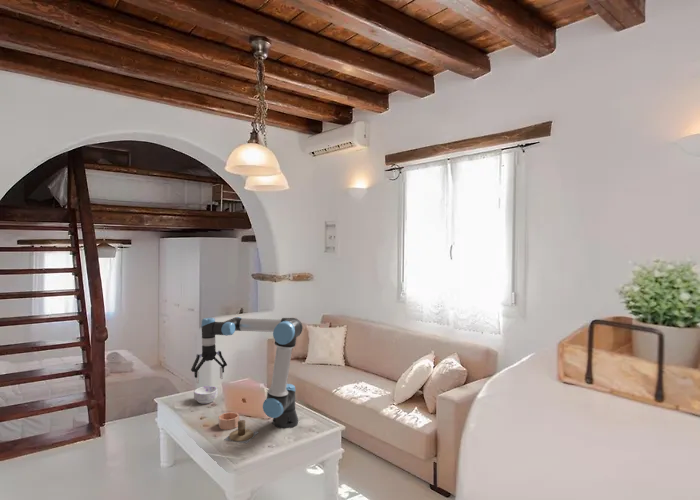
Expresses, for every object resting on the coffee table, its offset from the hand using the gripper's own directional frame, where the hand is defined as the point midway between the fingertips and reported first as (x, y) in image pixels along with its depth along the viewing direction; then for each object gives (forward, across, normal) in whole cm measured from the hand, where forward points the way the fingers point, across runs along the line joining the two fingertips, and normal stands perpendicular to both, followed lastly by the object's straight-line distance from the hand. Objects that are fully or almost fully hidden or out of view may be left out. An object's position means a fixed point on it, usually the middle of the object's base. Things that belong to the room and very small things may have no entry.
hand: (209, 380), depth 252 cm
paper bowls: (+26, -8, -40) cm, 48 cm away
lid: (+26, -10, +24) cm, 37 cm away
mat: (+27, -10, +24) cm, 38 cm away
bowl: (+27, -9, +7) cm, 29 cm away
